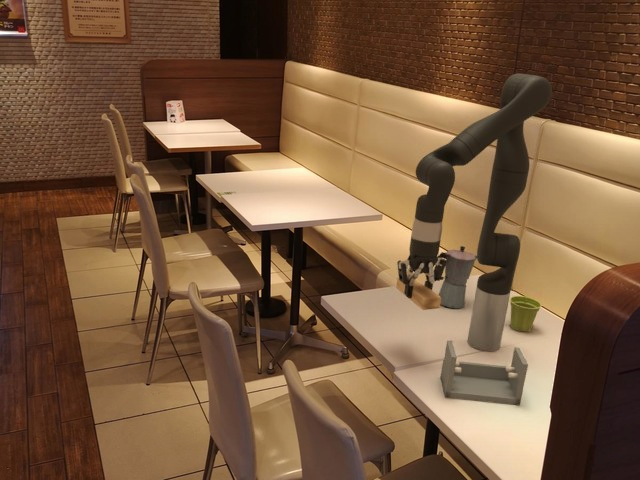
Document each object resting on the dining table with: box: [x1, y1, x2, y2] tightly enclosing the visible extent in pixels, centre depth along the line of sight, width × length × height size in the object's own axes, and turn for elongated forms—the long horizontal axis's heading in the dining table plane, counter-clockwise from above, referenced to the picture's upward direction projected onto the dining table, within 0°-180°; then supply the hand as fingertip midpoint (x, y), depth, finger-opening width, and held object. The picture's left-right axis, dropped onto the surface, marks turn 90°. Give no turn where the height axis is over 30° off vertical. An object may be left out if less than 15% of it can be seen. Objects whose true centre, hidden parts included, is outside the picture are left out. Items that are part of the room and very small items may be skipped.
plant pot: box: [509, 295, 543, 332], centre depth 194 cm, size 9×9×9 cm
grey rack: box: [439, 340, 529, 406], centre depth 156 cm, size 10×18×11 cm, turn 87°
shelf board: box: [395, 277, 441, 311], centre depth 168 cm, size 5×14×3 cm, turn 23°
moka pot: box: [434, 245, 477, 309], centre depth 205 cm, size 10×15×20 cm, turn 112°
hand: (417, 295), depth 168 cm, fingers closed on shelf board, 5 cm apart
